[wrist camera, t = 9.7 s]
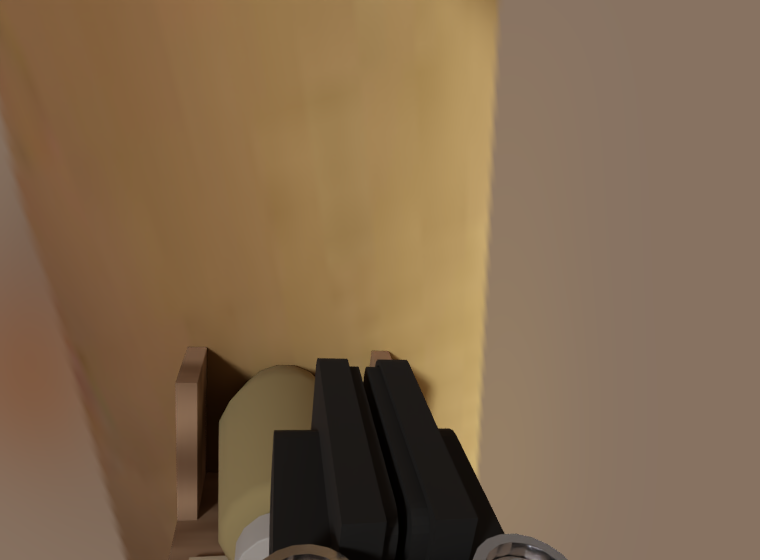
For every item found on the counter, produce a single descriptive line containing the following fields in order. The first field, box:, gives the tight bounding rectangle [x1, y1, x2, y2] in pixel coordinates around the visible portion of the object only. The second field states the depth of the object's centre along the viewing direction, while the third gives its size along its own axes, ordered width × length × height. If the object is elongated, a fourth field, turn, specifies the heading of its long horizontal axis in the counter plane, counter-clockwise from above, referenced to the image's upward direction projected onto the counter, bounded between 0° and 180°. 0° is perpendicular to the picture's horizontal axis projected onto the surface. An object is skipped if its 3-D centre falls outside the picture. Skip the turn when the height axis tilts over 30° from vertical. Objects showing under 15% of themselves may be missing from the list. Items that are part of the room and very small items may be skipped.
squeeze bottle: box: [218, 365, 315, 560], centre depth 29 cm, size 8×8×18 cm
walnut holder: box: [168, 347, 392, 560], centre depth 34 cm, size 11×13×9 cm
